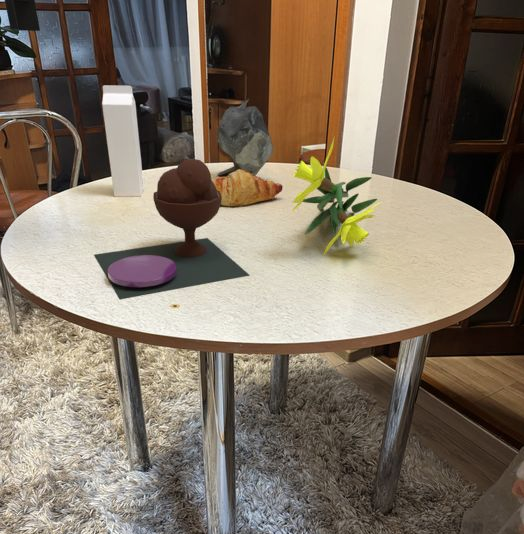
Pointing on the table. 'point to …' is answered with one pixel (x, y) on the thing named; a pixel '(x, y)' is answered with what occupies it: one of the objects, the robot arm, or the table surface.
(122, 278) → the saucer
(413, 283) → the table surface
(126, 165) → the milk
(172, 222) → the ice cream bowl
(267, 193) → the croissant
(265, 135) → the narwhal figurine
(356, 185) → the daffodil flowers
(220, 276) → the placemat
